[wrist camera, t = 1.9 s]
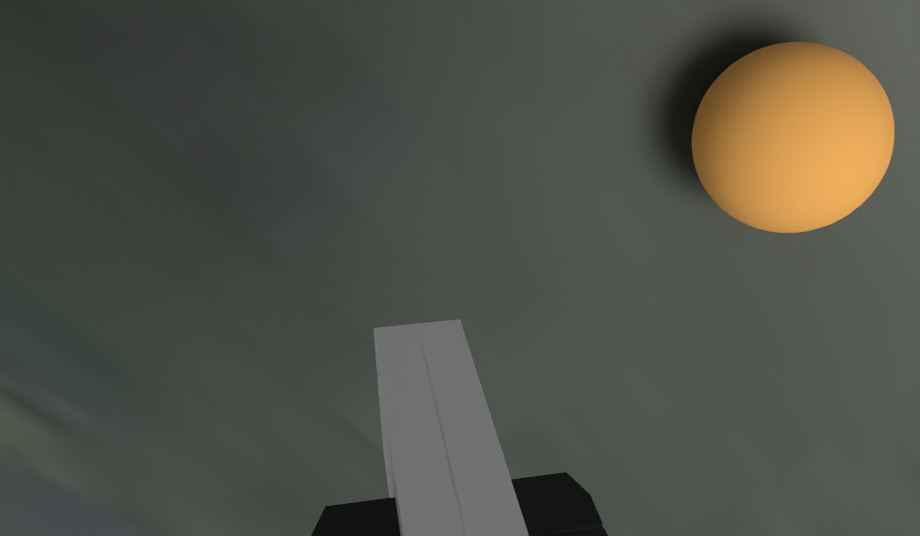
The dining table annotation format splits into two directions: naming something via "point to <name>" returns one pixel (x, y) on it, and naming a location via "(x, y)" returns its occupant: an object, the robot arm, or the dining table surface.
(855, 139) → the ball
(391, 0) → the dining table surface
